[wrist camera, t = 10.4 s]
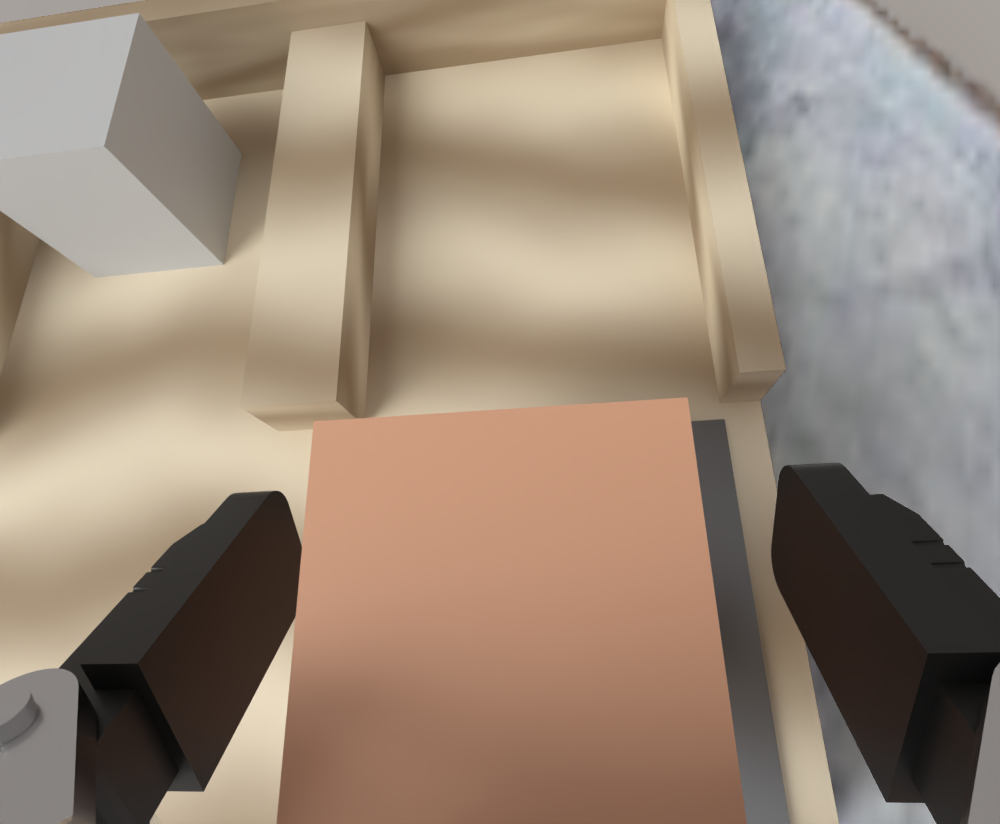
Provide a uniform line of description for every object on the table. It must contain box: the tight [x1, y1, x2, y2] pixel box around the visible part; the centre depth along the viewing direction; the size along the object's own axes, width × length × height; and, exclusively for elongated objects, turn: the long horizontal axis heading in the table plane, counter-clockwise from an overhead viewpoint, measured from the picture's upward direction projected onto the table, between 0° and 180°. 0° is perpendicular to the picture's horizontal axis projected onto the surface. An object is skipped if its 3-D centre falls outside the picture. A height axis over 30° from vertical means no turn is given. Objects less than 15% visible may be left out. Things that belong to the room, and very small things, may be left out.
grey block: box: [0, 13, 242, 278], centre depth 17 cm, size 4×4×5 cm
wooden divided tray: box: [0, 0, 839, 824], centre depth 16 cm, size 24×24×5 cm
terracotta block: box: [276, 397, 747, 824], centre depth 10 cm, size 4×4×8 cm
